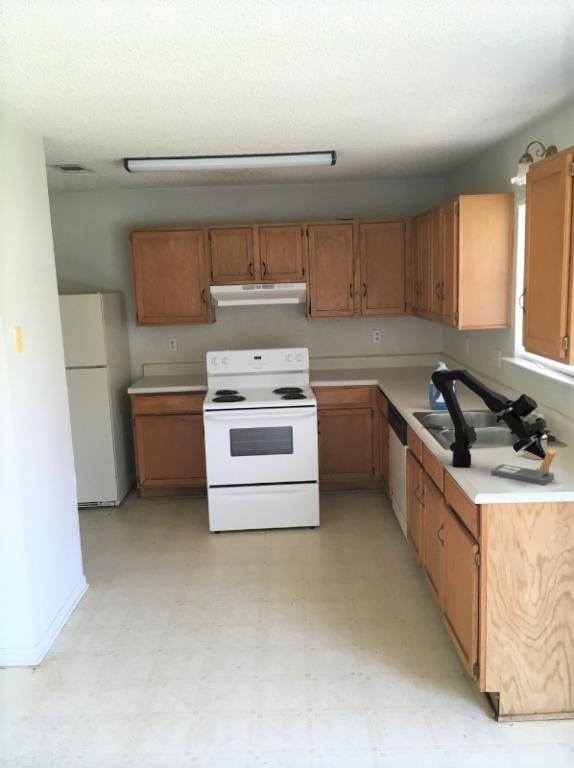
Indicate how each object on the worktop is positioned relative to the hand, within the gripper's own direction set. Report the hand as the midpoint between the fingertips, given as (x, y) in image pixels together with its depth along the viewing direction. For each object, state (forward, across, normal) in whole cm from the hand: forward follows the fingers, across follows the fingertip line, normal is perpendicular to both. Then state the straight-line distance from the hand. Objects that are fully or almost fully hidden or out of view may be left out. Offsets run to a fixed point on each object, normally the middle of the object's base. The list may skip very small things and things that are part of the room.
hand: (545, 458), depth 226 cm
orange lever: (+3, 0, +4) cm, 5 cm away
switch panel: (0, 0, +12) cm, 12 cm away
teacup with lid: (-5, +28, +17) cm, 33 cm away
